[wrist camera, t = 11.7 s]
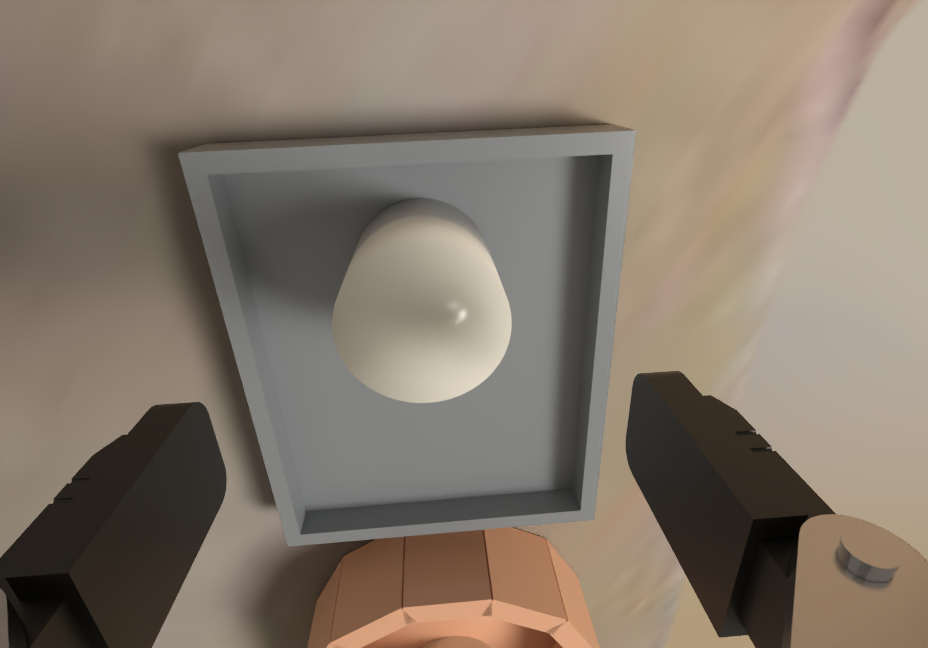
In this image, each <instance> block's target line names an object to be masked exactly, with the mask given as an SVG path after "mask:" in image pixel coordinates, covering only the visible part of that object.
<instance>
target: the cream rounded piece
mask: <svg viewBox="0 0 928 648" xmlns="http://www.w3.org/2000/svg"><path fill="white" fill-rule="evenodd" d="M511 327H512V319H511V310H510V306H509V302H508V299H507V296H506V294H505V291H504V288H503V286H502V283H501V281H500V278H499V275H498V273H497V270H496V267H495V265H494V262H493V259H492V257H491V254H490V251H489V249H488V246H487V244H486V241H485V238H484V236H483V234H482V232H481V231H480V229H479V228H478V226H477V225H476V224H475V222H474V221H473V220H472V219H471V218H470V217H469V216H468V215H466V214H465V213H464V212H463V211H461V210H460V209H458V208H456V207H455V206H453V205H450V204H448V203H446V202H442V201H439V200H434V199H426V198H417V199H409V200H405V201H401V202H398V203H395V204H393V205H391V206H389V207H387V208H385V209H384V210H382V211H381V212H380V213H378V214H377V215H376V216H375V217H374V218H373V219H372V220H371V221H370V222H369V223H368V225H367V226H366V227H365V229H364V230H363V232H362V234H361V236H360V238H359V241H358V244H357V246H356V249H355V251H354V254H353V257H352V259H351V262H350V265H349V267H348V270H347V272H346V275H345V278H344V280H343V283H342V285H341V288H340V291H339V293H338V296H337V299H336V302H335V305H334V310H333V316H332V329H333V337H334V341H335V345H336V348H337V350H338V352H339V355H340V357H341V358H342V360H343V362H344V364H345V365H346V366H347V368H348V369H349V370H350V372H351V373H352V374H353V375H354V376H355V377H356V378H357V379H358V380H359V381H361V382H362V383H363V384H364V385H366V386H367V387H369V388H370V389H372V390H374V391H375V392H377V393H379V394H382V395H384V396H386V397H389V398H392V399H395V400H399V401H404V402H412V403H432V402H440V401H444V400H448V399H452V398H455V397H457V396H460V395H462V394H464V393H466V392H468V391H470V390H472V389H473V388H475V387H476V386H478V385H479V384H481V383H482V382H483V381H484V380H485V379H487V378H488V377H489V376H490V375H491V373H492V372H493V371H494V370H495V369H496V367H497V366H498V365H499V363H500V362H501V360H502V358H503V356H504V354H505V352H506V350H507V347H508V344H509V340H510V336H511Z"/></svg>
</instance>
